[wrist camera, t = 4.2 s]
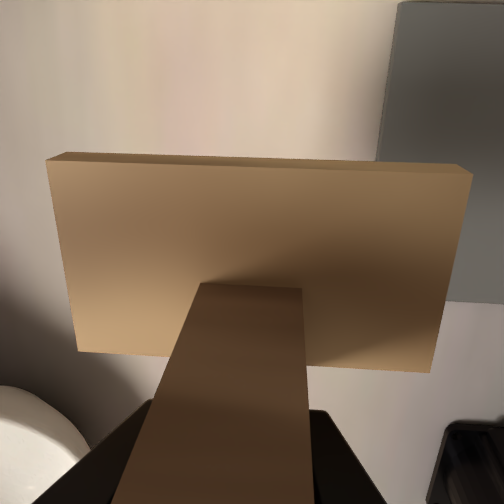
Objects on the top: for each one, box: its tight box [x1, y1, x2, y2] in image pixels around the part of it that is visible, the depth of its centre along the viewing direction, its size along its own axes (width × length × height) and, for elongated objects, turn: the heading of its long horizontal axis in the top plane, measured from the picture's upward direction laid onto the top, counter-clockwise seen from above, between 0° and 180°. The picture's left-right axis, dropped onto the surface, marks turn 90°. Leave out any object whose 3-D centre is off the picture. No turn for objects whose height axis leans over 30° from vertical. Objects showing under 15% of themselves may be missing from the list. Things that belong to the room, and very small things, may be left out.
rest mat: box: [376, 2, 504, 304], centre depth 18 cm, size 12×10×1 cm
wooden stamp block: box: [45, 152, 473, 504], centre depth 7 cm, size 5×9×9 cm, turn 89°
